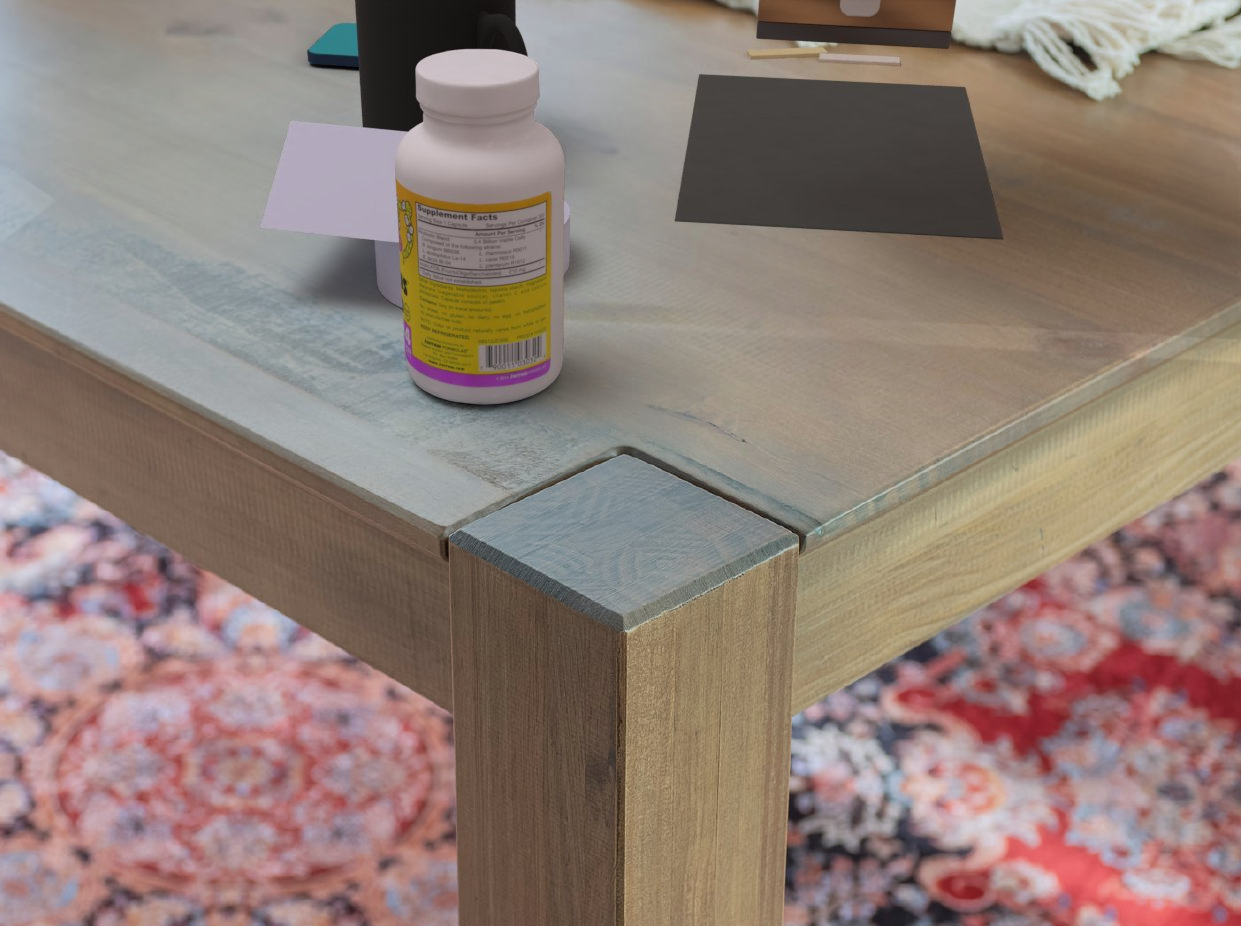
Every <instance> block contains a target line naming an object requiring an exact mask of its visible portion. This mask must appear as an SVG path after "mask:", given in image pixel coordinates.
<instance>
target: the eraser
mask: <svg viewBox="0 0 1241 926" xmlns="http://www.w3.org/2000/svg"><path fill="white" fill-rule="evenodd" d="M956 3H957V0H881V1H880V8H879V10H878V12H877V13H876V14H875V15H874V16H871V17H862V16H847V15H845V14H844V13H843V12H842V11H841V8H840V0H758V8H757V22H756V33H755V37H756V38H755V39H756V40H757V39H758V40H772V41H774V40H775V41H792V42H807V43H808V42H809V43H810V42H811V43H825V44H828V43H829V44H847V45H864V46H882V47H883V46H884V47H902V48H903V47H904V48H920V49H921V48H922V49H939V50H940V49H941V50H948V49H950V46H951V40H952V30H953V26H954V19H955V12H956V6H957V4H956Z"/></svg>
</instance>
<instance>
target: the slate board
mask: <svg viewBox="0 0 1241 926" xmlns="http://www.w3.org/2000/svg"><path fill="white" fill-rule="evenodd" d="M697 79H698V80H697V83H696V84H697V85H696V91H695V97H694V103H693V110H692V115H691V121H690V127H689V133H688V140H687V143H686V144H687V145H686V149H685V157H684V163H683V168H682V175H681V180H680V186H679V192H678V199H677V204H676V211H675V217H674V222H678V223H679V222H680V223H696V224H715V225H730V226H731V225H732V226H733V225H734V226H751V227H766V228H767V227H769V228H785V229H786V228H788V229H803V230H805V229H806V230H821V231H823V230H824V231H839V232H840V231H841V232H859V233H876V234H879V233H880V234H893V235H895V234H896V235H912V236H913V235H914V236H930V237H931V236H934V237H949V238H951V237H952V238H966V239H967V238H968V239H988V240H1004V236H1003V231H1002V227H1001V223H1000V219H999V216H998V212H997V207H996V204H995V200H994V196H993V191H992V188H991V183H990V180H989V176H988V172H987V167H986V163H985V160H984V155H983V152H982V147H981V143H980V140H979V136H978V132H977V127H976V124H975V120H974V116H973V112H972V111H973V110H972V107H971V104H970V100H969V96H968V93H967V91H968V90H967V88H966V86H952V85H933V84H912V83H911V84H910V83H893V82H892V83H891V82H890V83H889V82H872V81H871V82H869V81H853V80H852V81H851V80H833V79H832V80H831V79H830V80H829V79H810V78H809V79H807V78H789V77H788V78H786V77H769V76H768V77H767V76H765V77H764V76H746V75H727V74H725V75H724V74H705V73H703V74H702V73H699V75H698V78H697Z"/></svg>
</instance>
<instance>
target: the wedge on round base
mask: <svg viewBox="0 0 1241 926" xmlns="http://www.w3.org/2000/svg"><path fill="white" fill-rule="evenodd" d="M407 133H408V132H405V131H394V130H384V129H374V128H363V126H351V125H342V124H331V123H321V122H312V121H311V122H310V121H299V120H290V123H289V125H288V129H287V134H286V136H285V140H284V144H283V147H282V149H281V154H280V157H279V161H278V164H277V168H276V171H275V175H274V177H273V182H272V185H271V188H270V192H269V196H268V199H267V203H266V205H265V210H264V213H263V216H262V220H261V222H260V226H259V227H260V228H261V229H269V230H279V231H288V232H297V233H306V234H316V235H325V236H334V237H343V238H351V239H352V238H353V239H361V240H372V241H374V251H375V252H374V253H375V267H376V268H375V269H376V270H375V271H376V283H377V288H378V290H379V292H380V294H381V295H382V296H383V297H384V298H385V299H386V300H387V301H389V302H390V303H391V304H393V305H395V306H397V307H399V308H401V309H402V290H401V271H400V252H399V233H398V215H397V197H396V181H395V155H396V151H397V148H398V146H399V144H400V142H401V140H402V139H403V137H404V136H405V135H406V134H407ZM570 259H571V207H570V205H569V204H568V202H567V201H566V200H565V199H564V275H566V273H567V271H568V270H569V267H570V262H571V261H570Z"/></svg>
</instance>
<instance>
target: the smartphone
mask: <svg viewBox="0 0 1241 926" xmlns="http://www.w3.org/2000/svg"><path fill="white" fill-rule="evenodd" d="M306 53H307V62H308V63H309V64H311V65H320V66H321V65H322V66H337V67H339V66H340V67H354V68H359V60H358V43H357V26H356V22H341V23H336V24H334V25H332V26H331V27H330V28H329V29H328V30H327V31H326V32H325V33H323V35H321V37H319V39H317V40H316V42H314V43H313V44H312V45H311V46H310V47H309V48H308V49H307V51H306Z"/></svg>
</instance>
